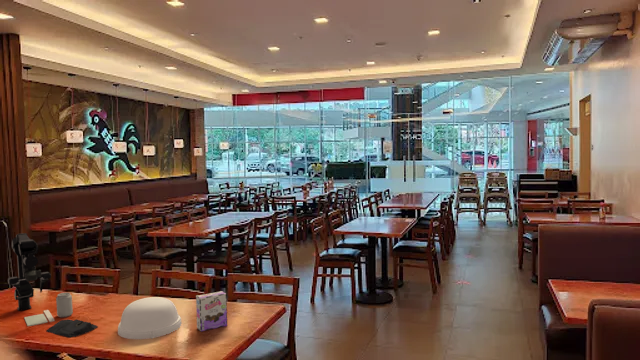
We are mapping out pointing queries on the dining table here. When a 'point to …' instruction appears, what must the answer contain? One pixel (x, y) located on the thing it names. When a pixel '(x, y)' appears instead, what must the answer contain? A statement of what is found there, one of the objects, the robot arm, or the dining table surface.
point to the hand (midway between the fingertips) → (30, 294)
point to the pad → (35, 320)
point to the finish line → (49, 315)
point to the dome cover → (149, 318)
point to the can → (64, 304)
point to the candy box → (211, 310)
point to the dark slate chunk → (71, 328)
